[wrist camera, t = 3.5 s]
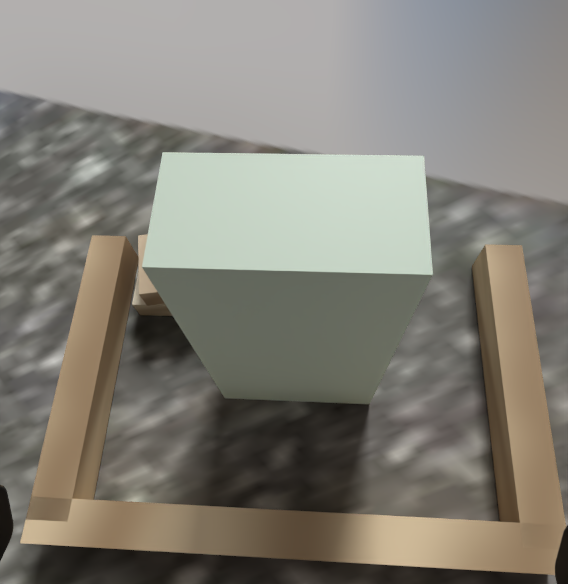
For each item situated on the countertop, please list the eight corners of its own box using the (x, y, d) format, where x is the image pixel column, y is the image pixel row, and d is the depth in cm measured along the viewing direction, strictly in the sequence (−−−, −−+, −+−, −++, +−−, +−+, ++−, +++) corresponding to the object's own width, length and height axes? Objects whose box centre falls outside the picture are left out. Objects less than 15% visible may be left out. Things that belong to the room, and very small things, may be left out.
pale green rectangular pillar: (224, 398, 22) (141, 267, 11) (231, 330, 23) (162, 152, 12) (369, 404, 22) (432, 274, 11) (368, 335, 23) (424, 156, 12)
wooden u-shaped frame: (46, 541, 20) (20, 543, 18) (107, 257, 25) (92, 235, 23) (548, 571, 19) (573, 575, 17) (505, 267, 24) (521, 245, 22)
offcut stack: (140, 315, 24) (122, 293, 21) (151, 249, 25) (137, 222, 23) (219, 318, 23) (210, 296, 21) (226, 250, 25) (219, 223, 23)
